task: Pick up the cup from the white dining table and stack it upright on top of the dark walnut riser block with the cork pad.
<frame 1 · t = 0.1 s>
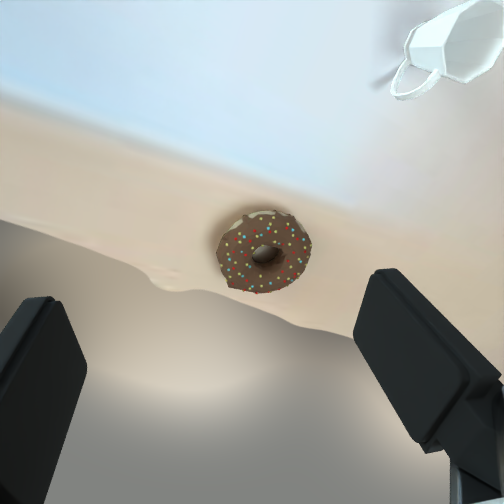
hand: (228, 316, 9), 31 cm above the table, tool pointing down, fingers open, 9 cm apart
cup: (409, 57, 35), on the table
donut: (259, 246, 46), on the table
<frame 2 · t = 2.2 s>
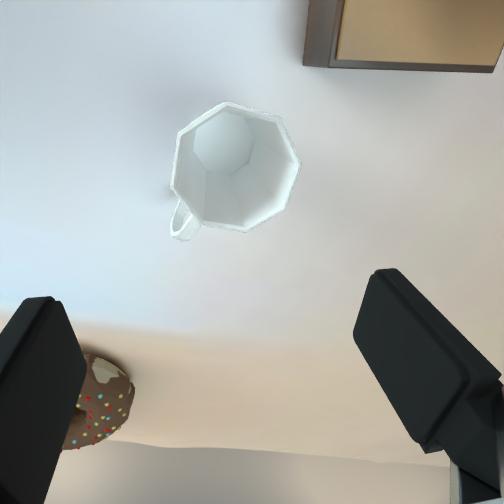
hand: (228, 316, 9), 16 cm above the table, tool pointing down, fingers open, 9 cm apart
cup: (210, 155, 23), on the table
donut: (69, 382, 34), on the table
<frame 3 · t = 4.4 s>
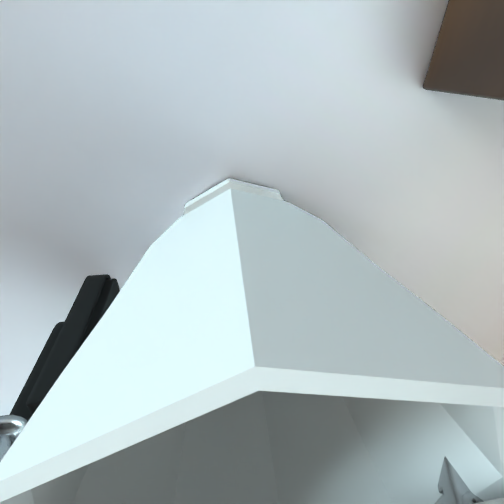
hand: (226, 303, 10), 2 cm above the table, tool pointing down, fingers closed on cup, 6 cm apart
cup: (214, 262, 11), on the table, touching gripper
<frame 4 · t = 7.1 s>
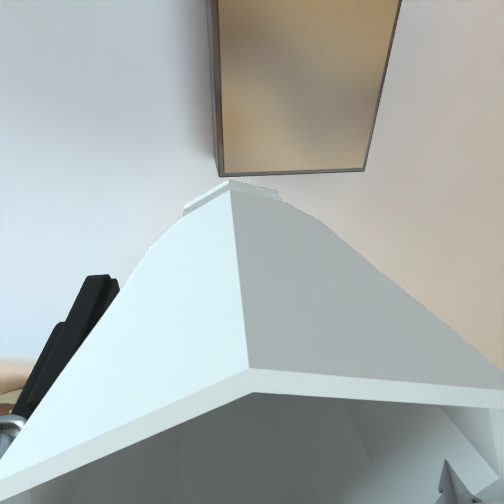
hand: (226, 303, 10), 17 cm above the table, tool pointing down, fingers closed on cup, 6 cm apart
cup: (214, 263, 11), point 15 cm above the table, touching gripper
donut: (42, 411, 38), on the table
riser: (284, 76, 22), on the table
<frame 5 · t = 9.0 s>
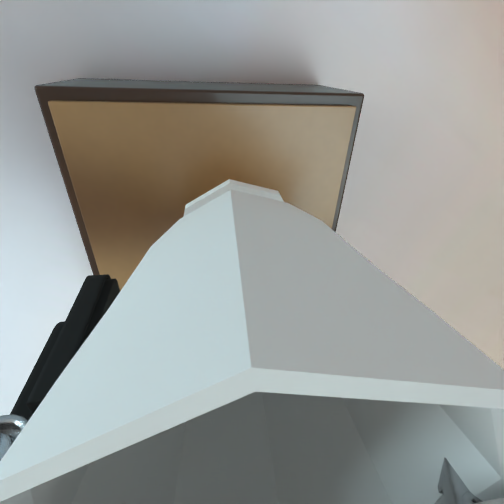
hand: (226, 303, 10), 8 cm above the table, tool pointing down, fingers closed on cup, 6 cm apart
cup: (214, 263, 11), point 6 cm above the table, touching gripper
riser: (212, 203, 17), on the table
when the fingers open (7 cm above the table, at t = 10.1 s): cup stays where it is, resting on riser.
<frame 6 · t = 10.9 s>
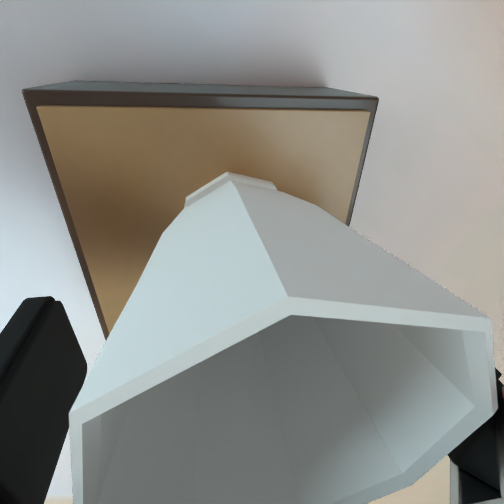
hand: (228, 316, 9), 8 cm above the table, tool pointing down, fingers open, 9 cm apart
cup: (213, 252, 12), point 5 cm above the table, touching riser
riser: (214, 211, 16), on the table
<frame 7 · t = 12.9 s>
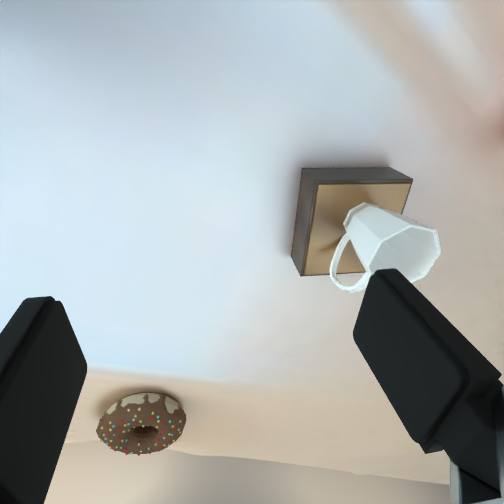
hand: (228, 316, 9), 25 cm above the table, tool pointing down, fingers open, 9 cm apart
cup: (351, 229, 33), point 5 cm above the table, touching riser
donut: (144, 410, 53), on the table
riser: (337, 214, 38), on the table
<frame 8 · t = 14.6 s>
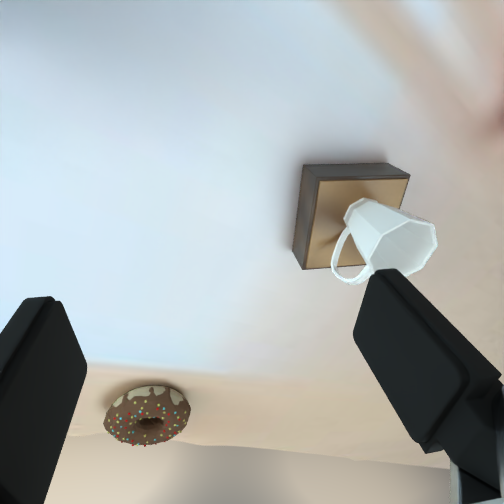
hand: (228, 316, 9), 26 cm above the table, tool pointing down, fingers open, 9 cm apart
cup: (351, 224, 35), point 5 cm above the table, touching riser
donut: (149, 402, 54), on the table
riser: (337, 209, 39), on the table
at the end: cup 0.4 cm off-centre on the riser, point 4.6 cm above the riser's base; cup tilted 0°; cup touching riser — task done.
